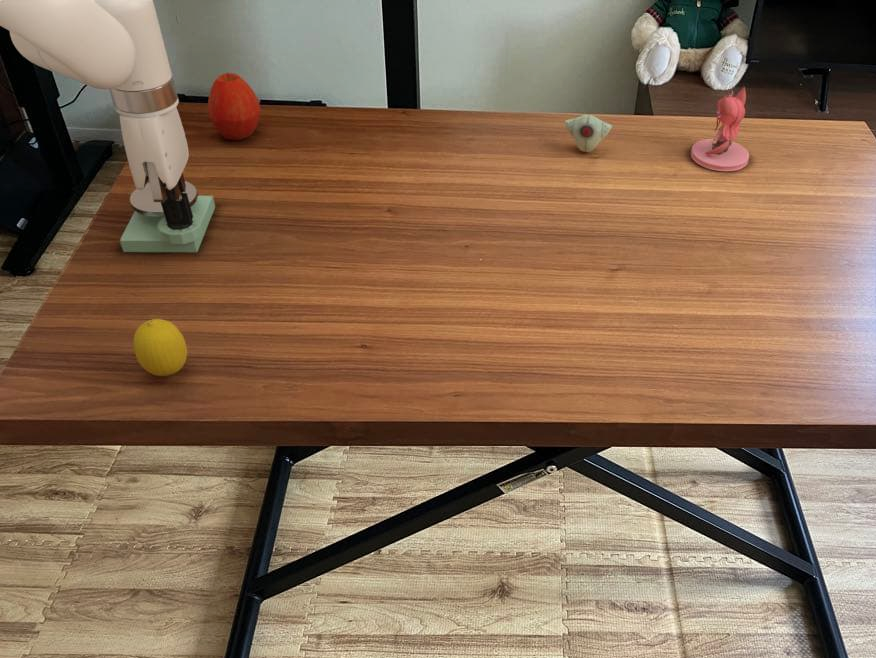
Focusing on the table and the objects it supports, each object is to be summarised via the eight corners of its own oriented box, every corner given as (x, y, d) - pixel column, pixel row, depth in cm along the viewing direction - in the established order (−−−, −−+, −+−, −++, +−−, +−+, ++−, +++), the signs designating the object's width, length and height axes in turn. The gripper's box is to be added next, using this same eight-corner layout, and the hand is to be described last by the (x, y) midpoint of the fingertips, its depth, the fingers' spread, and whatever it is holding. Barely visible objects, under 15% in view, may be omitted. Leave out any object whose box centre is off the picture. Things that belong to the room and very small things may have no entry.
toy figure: (713, 138, 153) (727, 71, 144) (759, 159, 148) (775, 91, 140) (679, 155, 148) (690, 87, 139) (724, 178, 143) (739, 108, 135)
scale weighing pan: (145, 223, 120) (143, 218, 119) (121, 195, 125) (120, 190, 124) (208, 204, 124) (206, 199, 123) (183, 177, 129) (181, 172, 128)
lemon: (196, 357, 106) (180, 304, 100) (190, 387, 102) (174, 334, 96) (148, 360, 105) (129, 307, 99) (141, 391, 101) (121, 338, 95)
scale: (202, 255, 121) (196, 234, 118) (121, 255, 120) (114, 233, 118) (221, 206, 130) (216, 186, 128) (146, 206, 129) (140, 185, 127)
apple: (267, 144, 144) (255, 81, 137) (215, 149, 142) (201, 85, 135) (262, 122, 150) (251, 60, 143) (212, 127, 148) (198, 64, 140)
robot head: (610, 149, 148) (614, 111, 144) (607, 161, 145) (612, 123, 141) (563, 144, 149) (566, 106, 144) (560, 156, 146) (563, 117, 141)
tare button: (190, 237, 120) (187, 227, 119) (169, 236, 120) (166, 227, 119) (194, 226, 122) (192, 216, 121) (174, 225, 122) (171, 216, 121)
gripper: (129, 67, 112) (166, 193, 125) (93, 120, 102) (137, 252, 115) (189, 68, 113) (219, 193, 126) (159, 121, 102) (196, 252, 115)
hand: (180, 221), depth 120 cm, fingers closed
